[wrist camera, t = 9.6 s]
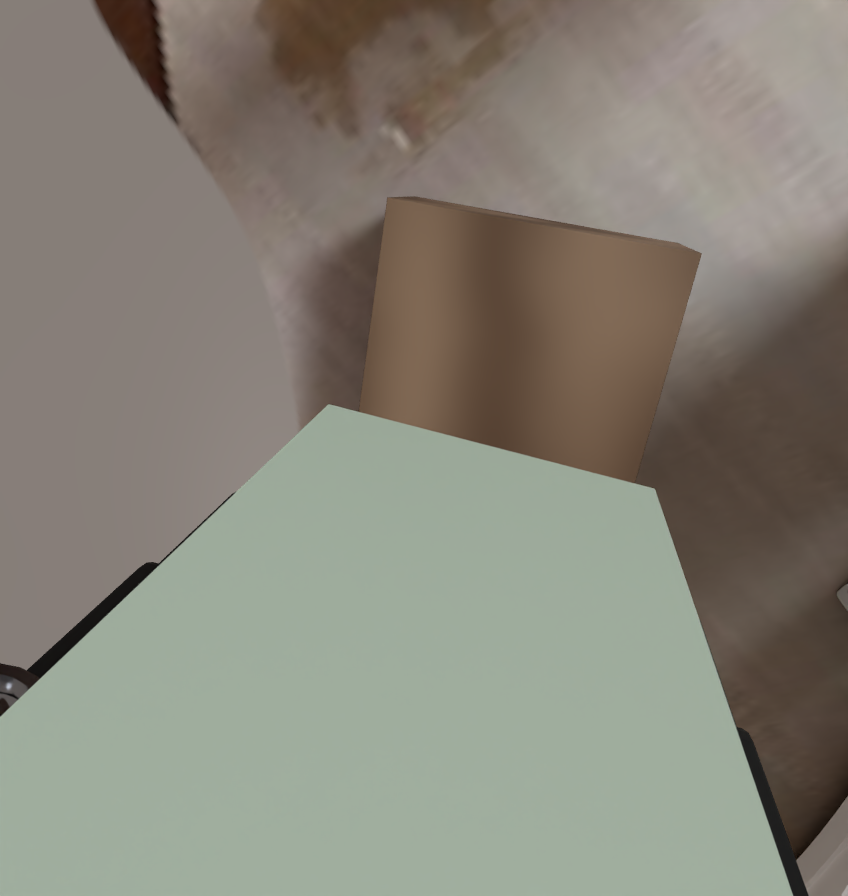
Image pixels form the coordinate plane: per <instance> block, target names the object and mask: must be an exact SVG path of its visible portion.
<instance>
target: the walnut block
mask: <svg viewBox="0 0 848 896" xmlns="http://www.w3.org/2000/svg"><path fill="white" fill-rule="evenodd" d="M701 254H702V253H699V252H697V251H695V250H692V249H690V248H688V247H686V246H683V245H681V244H679V243H674V242H669V241H663V240H657V239H652V238H646V237H640V236H635V235H629V234H623V233H618V232H612V231H606V230H601V229H595V228H589V227H584V226H578V225H573V224H567V223H561V222H556V221H550V220H544V219H539V218H533V217H527V216H522V215H516V214H510V213H505V212H499V211H493V210H488V209H482V208H476V207H471V206H465V205H459V204H454V203H448V202H443V201H437V200H431V199H426V198H420V197H391V198H387V205H386V212H385V220H384V227H383V234H382V242H381V249H380V257H379V264H378V272H377V279H376V286H375V294H374V301H373V309H372V316H371V324H370V331H369V338H368V346H367V353H366V361H365V368H364V376H363V383H362V390H361V398H360V405H359V412H361V413H365V414H369V415H373V416H376V417H380V418H384V419H388V420H392V421H396V422H400V423H403V424H407V425H411V426H415V427H419V428H423V429H427V430H430V431H434V432H438V433H442V434H446V435H450V436H453V437H457V438H461V439H465V440H469V441H473V442H477V443H480V444H484V445H488V446H492V447H496V448H500V449H504V450H507V451H511V452H515V453H519V454H523V455H527V456H531V457H534V458H538V459H542V460H546V461H550V462H554V463H558V464H561V465H565V466H569V467H573V468H577V469H581V470H585V471H588V472H592V473H596V474H600V475H604V476H608V477H612V478H615V479H619V480H623V481H627V482H631V483H635V481H636V478H637V474H638V471H639V467H640V464H641V460H642V457H643V453H644V450H645V447H646V443H647V440H648V436H649V433H650V429H651V426H652V423H653V419H654V416H655V412H656V409H657V405H658V402H659V399H660V395H661V392H662V388H663V385H664V381H665V378H666V375H667V371H668V368H669V364H670V361H671V357H672V354H673V350H674V347H675V344H676V340H677V337H678V333H679V330H680V326H681V323H682V320H683V316H684V313H685V309H686V306H687V302H688V299H689V296H690V292H691V289H692V285H693V282H694V278H695V275H696V272H697V268H698V265H699V261H700V258H701Z"/></svg>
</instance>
